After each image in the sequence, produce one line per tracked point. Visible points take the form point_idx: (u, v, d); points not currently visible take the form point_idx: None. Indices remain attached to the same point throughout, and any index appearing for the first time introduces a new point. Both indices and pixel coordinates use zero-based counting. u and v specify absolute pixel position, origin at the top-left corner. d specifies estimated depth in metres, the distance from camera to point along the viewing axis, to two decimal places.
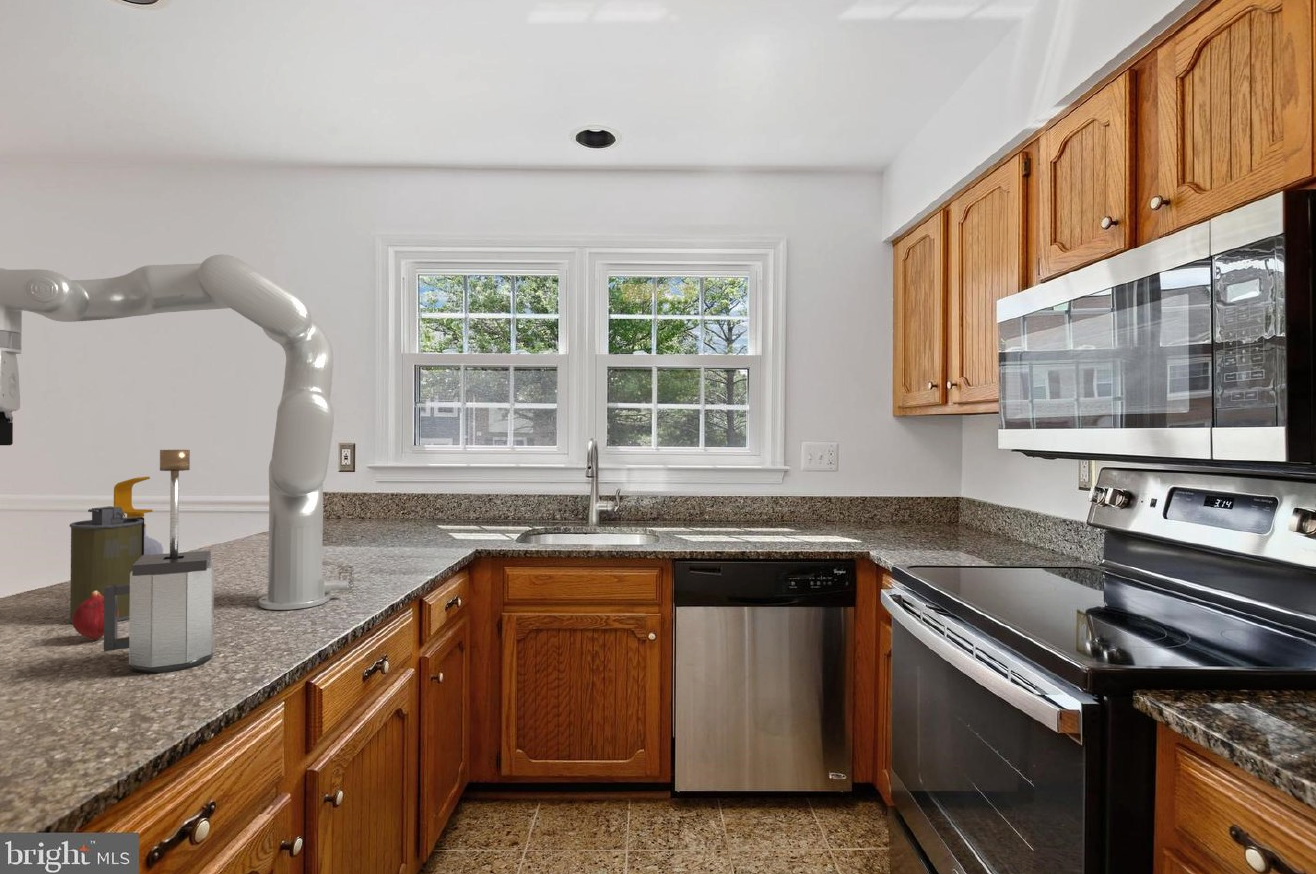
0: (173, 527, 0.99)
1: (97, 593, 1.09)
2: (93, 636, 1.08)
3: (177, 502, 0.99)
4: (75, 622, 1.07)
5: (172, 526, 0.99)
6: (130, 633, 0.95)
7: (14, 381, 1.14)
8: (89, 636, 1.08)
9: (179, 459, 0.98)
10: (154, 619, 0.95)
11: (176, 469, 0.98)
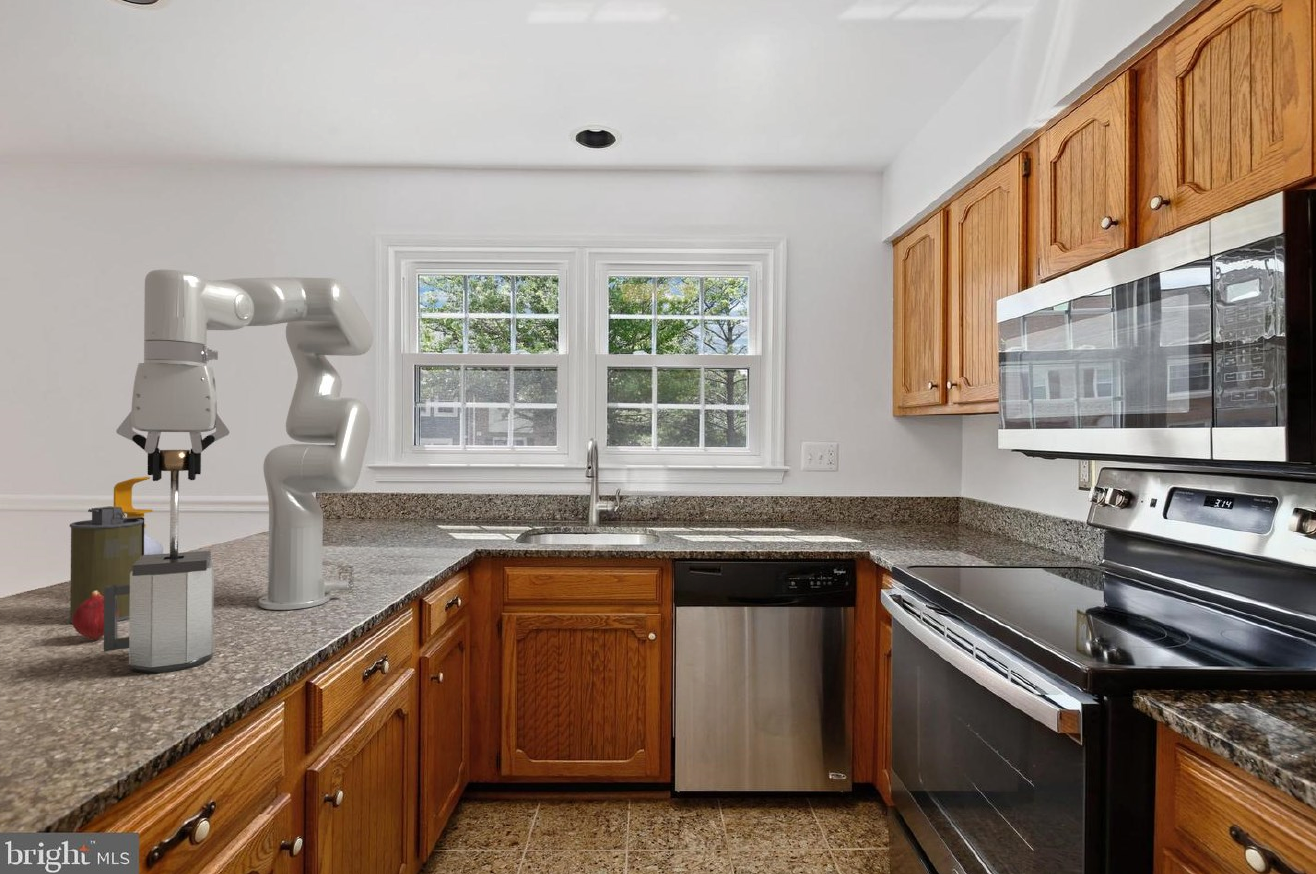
0: (173, 527, 0.99)
1: (97, 593, 1.09)
2: (93, 636, 1.08)
3: (177, 502, 0.99)
4: (75, 622, 1.07)
5: (172, 526, 0.99)
6: (130, 633, 0.95)
7: None
8: (89, 636, 1.08)
9: (179, 459, 0.98)
10: (154, 619, 0.95)
11: (176, 469, 0.98)
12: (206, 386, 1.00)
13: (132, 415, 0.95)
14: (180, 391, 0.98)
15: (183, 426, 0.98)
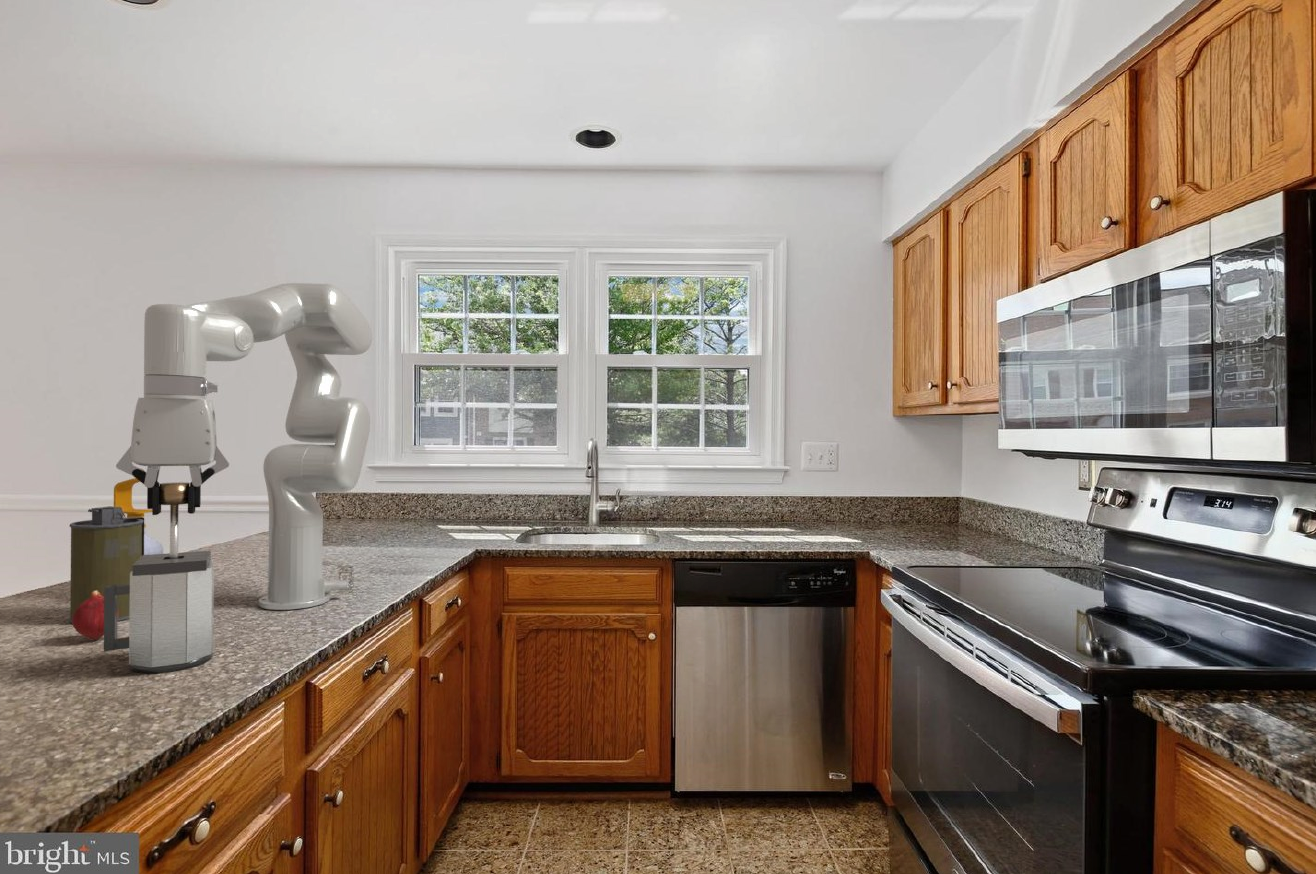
0: None
1: (97, 593, 1.09)
2: (93, 636, 1.08)
3: (177, 535, 1.00)
4: (75, 622, 1.07)
5: None
6: (130, 633, 0.95)
7: None
8: (89, 636, 1.08)
9: (179, 493, 0.98)
10: (154, 619, 0.95)
11: (176, 503, 0.98)
12: (206, 419, 1.00)
13: (132, 450, 0.95)
14: (180, 425, 0.98)
15: (183, 460, 0.98)
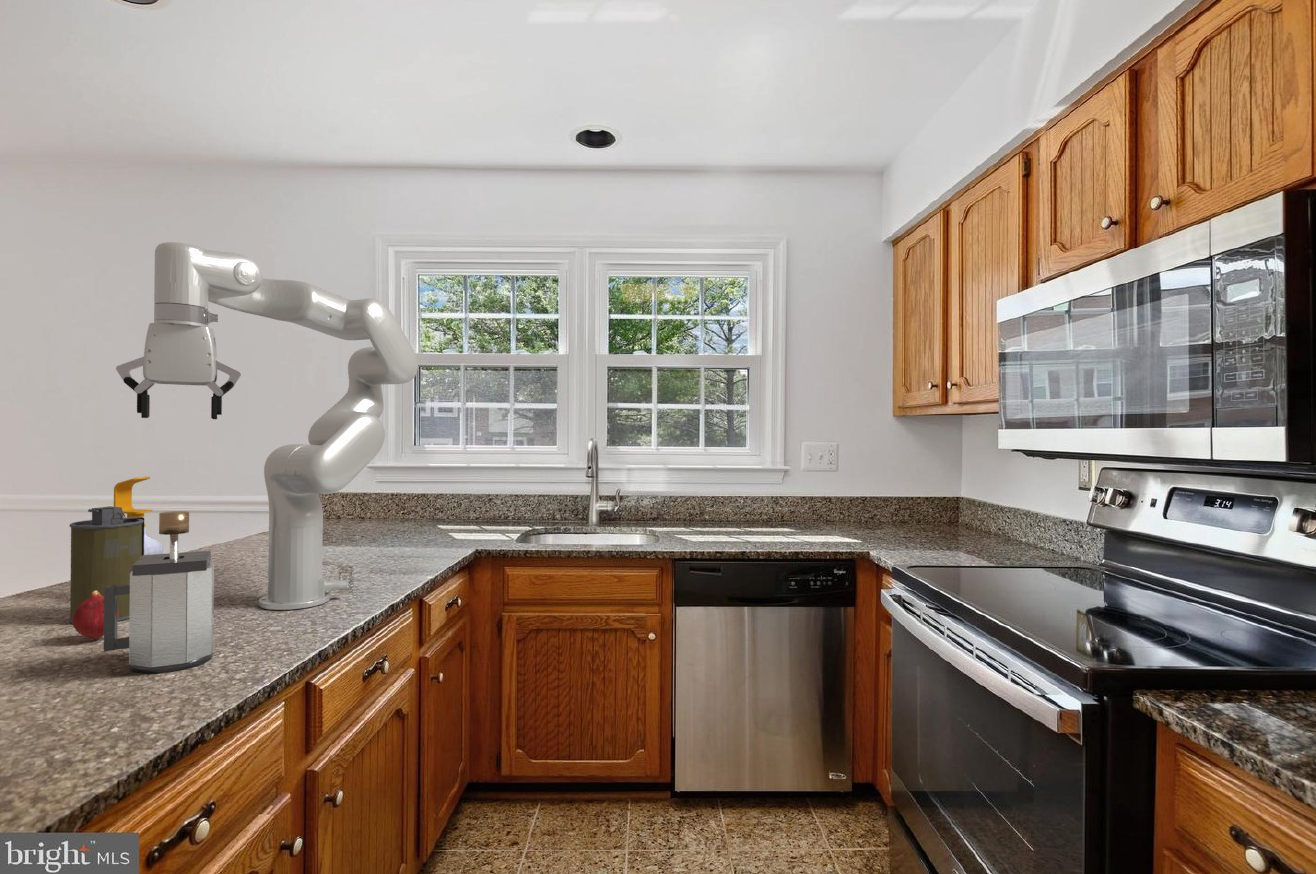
0: None
1: (97, 593, 1.09)
2: (93, 636, 1.08)
3: None
4: (75, 622, 1.07)
5: None
6: (130, 633, 0.95)
7: None
8: (89, 636, 1.08)
9: (178, 523, 0.98)
10: (154, 619, 0.95)
11: (175, 532, 0.98)
12: (208, 344, 1.15)
13: (144, 367, 1.10)
14: (185, 347, 1.13)
15: (188, 378, 1.13)
